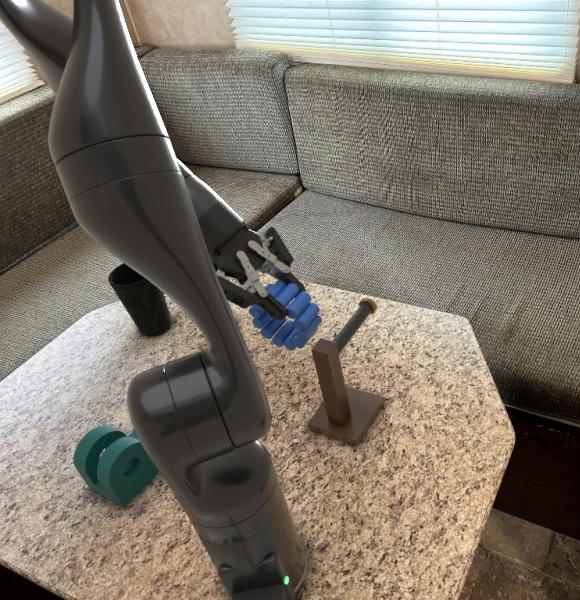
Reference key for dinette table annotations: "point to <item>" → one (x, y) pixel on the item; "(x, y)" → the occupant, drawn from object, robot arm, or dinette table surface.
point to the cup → (141, 300)
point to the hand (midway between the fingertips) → (293, 306)
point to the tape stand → (343, 386)
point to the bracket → (114, 464)
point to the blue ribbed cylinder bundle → (298, 309)
